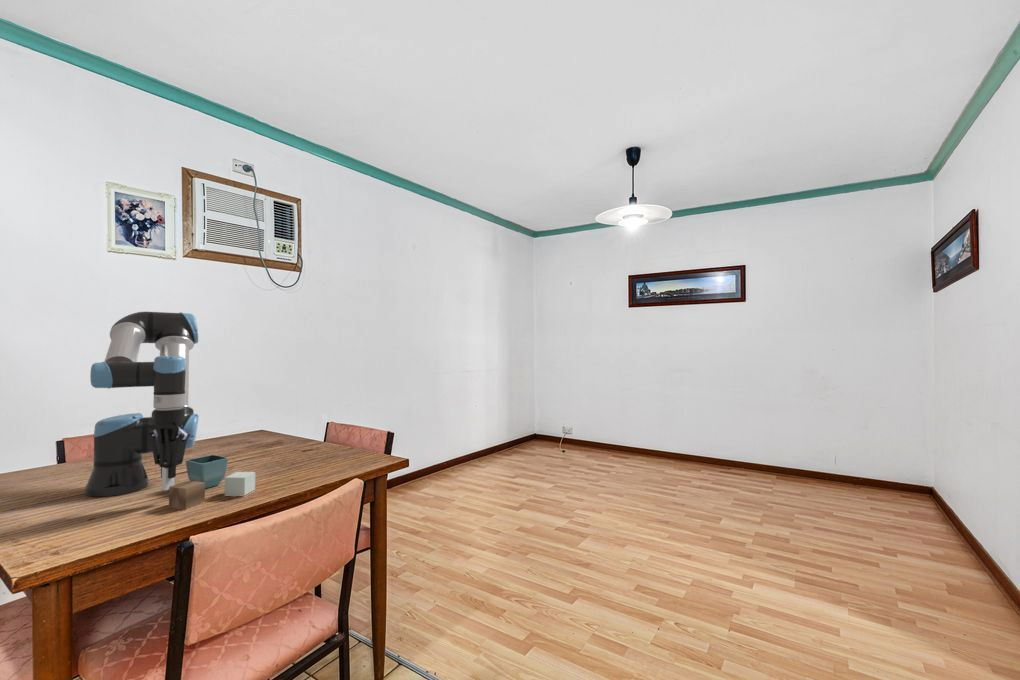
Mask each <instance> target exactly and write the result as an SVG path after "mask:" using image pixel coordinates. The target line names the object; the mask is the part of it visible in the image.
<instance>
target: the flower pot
mask: <svg viewBox="0 0 1020 680" xmlns="http://www.w3.org/2000/svg"><path fill="white" fill-rule="evenodd" d="M228 462H229V457H227V456H222V455H219V454H218V455H216V454H208V455H204V456H200V457H196V458H190V459H186V460H185V465H186V473H187V477H188V479H189V480H188V481H197V482H205V489H207V488H208V489H209V488H211V487H216V486H219V485H220V483H221V482H222V481H223V479H225V477H226V476H225V475H226V473H227V470H228Z"/></svg>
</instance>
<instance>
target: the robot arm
mask: <svg viewBox="0 0 1020 680" xmlns="http://www.w3.org/2000/svg"><path fill="white" fill-rule="evenodd" d="M197 322H198V321H197V318H196V317H195V315H194V314H192V313H186V312H181V311H180V312H167V311H166V312H164V311H163V312H161V311H160V312H159V311H138V312H134V313H130V314H127V315H126V316H123V317H122V318H120V319H118V320H117V321H116V322H114V324H113V325H112V326H111V328H110V331H109V338H110V343H109V347H108V348H107V349H108V350H107V353H106V355H105V359H104V361H102V362H94V363H92V364H91V367H90V374H89V375H90V376H89V377H90V386H92V388H95V389H109V390H110V389H114V388H115V389H117V388H139V387H140V388H141V387H153V405H152V406H153V409H154V410H152V411H151V415H150V416H147V417H144V416H143V414H142V413H140V412H136V413H126V414H125V413H124V414H120V415H115V416H110V417H106V418H103V419H99V420H98V421H97V422H96V423H95V424H94V429H93V430H94V432H93V436H92V437H93V468H92V470H91V474H90V476H89V478H88V481H87V484H86V485H85V496H87V497H94V498H95V497H99V498H101V497H112V496H119V495H124V494H130V493H132V492H137V491H140V490H142V489H144V488H146V487H148V486H149V476H148V475H147V471H146V469H145V467H144V464H143V461H142V460H143V459H142V458H143V455H144V454H153V455H152V456H153V461H154V464H155V465H158V466H159V467H160V477H161V491H169V487H170V486H173V485H176V483H175V481H176V480H175V479H176V476H177V474H176V473H177V467H178V466H179V465H182V464H183V462H184V457H185V452H186V450H188V449H191V448H192V447H194V445H195V443H196V437H197V431H198V422H199V414H197V413H194V408H192V407H191V406H190V405H189V375H190V374H189V373H190V371H189V369H190V368H189V367H190V365H189V364H190V359H189V358H190V351H191V350H192V349H193V348H194V345H195V344H198V343H199V331H198V330H199V328H198V323H197ZM141 344H154V346H155V348H156V349H157V350H159V356H156V357H155V358H154V359H153V360H154V361H138V357H139V353H140V347H141Z"/></svg>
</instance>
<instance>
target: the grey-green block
mask: <svg viewBox="0 0 1020 680" xmlns="http://www.w3.org/2000/svg"><path fill="white" fill-rule="evenodd" d="M253 490H255V491H256V472H255V471H235V472H232V473H231V474H229V475H227V476H224V497H225V496H240V495H246V494H248V493H249V492H251V491H253ZM253 492H254V491H253Z"/></svg>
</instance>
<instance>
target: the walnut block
mask: <svg viewBox="0 0 1020 680" xmlns="http://www.w3.org/2000/svg"><path fill="white" fill-rule="evenodd" d="M205 491H206V488H205V482H197V481H190V480H186V481H184V482H180V483H177V484H175V485H173V486H170V487H169V490H168V508H170V509H176V510H177V509H178V510H184V511H185V510H189V509H191V507H192V508H194V507H197V506H199V505H202V504H204V503H203V502H206V498H205V497H206V495H205V494H206V492H205ZM201 503H202V504H201ZM196 505H197V506H196ZM188 508H189V509H188Z"/></svg>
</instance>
